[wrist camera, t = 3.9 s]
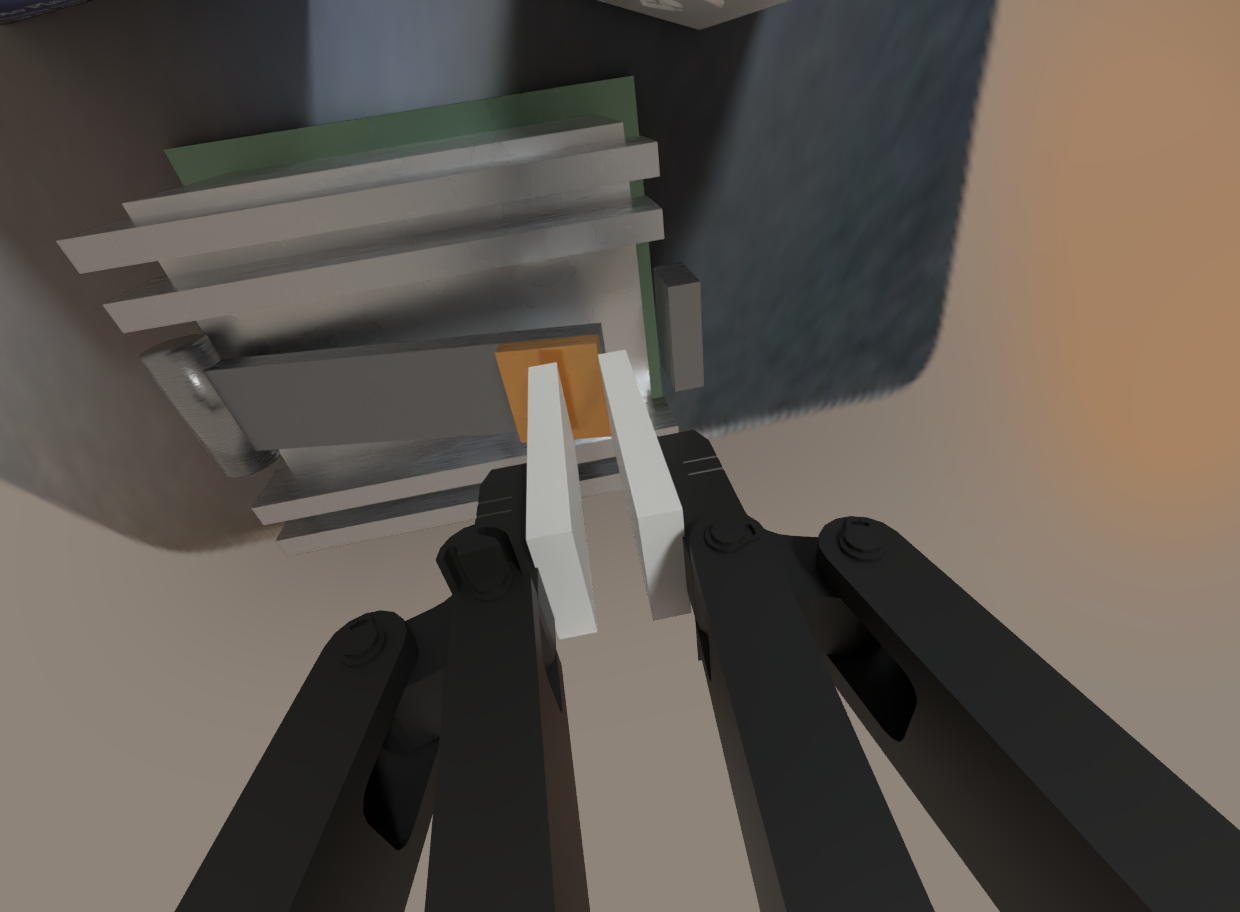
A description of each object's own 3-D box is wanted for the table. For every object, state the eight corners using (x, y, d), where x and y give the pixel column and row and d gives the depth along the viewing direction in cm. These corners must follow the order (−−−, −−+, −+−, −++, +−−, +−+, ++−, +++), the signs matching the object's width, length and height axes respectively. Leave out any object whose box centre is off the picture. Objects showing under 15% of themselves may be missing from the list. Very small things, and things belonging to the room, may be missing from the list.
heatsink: (172, 148, 19) (-37, 183, 12) (630, 76, 20) (692, 68, 13) (341, 456, 27) (278, 586, 20) (660, 395, 28) (707, 499, 21)
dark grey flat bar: (243, 448, 19) (207, 481, 18) (167, 337, 17) (118, 364, 15) (618, 421, 17) (614, 455, 16) (599, 292, 15) (591, 318, 13)
